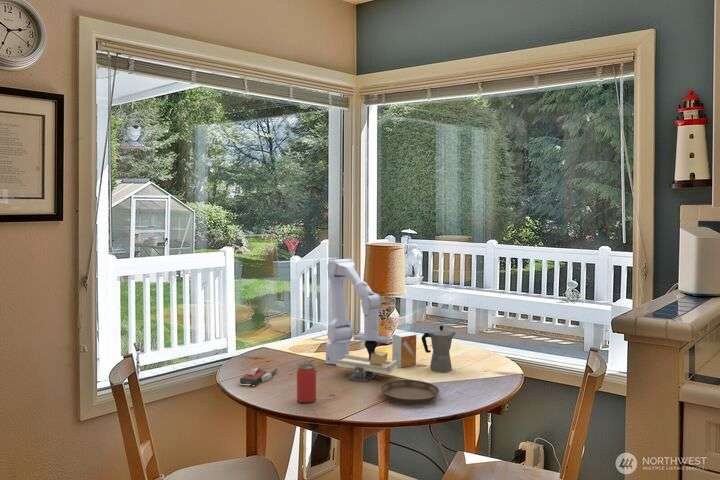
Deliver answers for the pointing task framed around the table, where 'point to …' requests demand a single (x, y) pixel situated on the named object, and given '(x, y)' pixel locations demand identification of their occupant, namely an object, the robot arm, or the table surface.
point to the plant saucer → (409, 392)
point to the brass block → (378, 358)
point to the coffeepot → (439, 349)
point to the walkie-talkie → (256, 376)
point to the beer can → (306, 383)
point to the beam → (366, 364)
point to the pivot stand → (361, 375)
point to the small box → (404, 349)
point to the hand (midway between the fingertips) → (371, 359)
